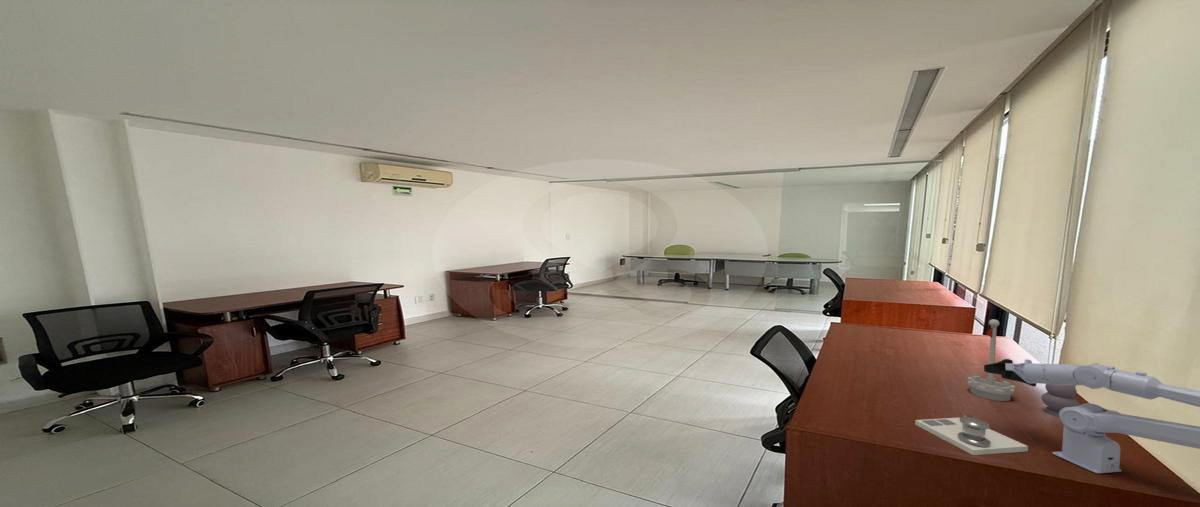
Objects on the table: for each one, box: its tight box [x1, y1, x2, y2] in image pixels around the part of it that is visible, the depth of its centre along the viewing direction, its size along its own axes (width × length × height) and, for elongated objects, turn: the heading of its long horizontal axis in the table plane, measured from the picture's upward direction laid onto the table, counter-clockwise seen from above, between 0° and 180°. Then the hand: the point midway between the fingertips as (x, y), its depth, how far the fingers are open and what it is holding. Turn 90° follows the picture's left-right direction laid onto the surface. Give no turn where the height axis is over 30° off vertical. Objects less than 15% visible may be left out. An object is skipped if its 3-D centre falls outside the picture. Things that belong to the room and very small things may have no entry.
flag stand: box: [967, 318, 1016, 402], centre depth 152 cm, size 13×13×30 cm
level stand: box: [914, 417, 1029, 456], centre depth 121 cm, size 18×18×2 cm
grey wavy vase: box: [1040, 384, 1080, 418], centre depth 136 cm, size 8×8×12 cm
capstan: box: [958, 413, 991, 447], centre depth 120 cm, size 17×7×5 cm, turn 142°
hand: (993, 371), depth 127 cm, fingers open, 7 cm apart
